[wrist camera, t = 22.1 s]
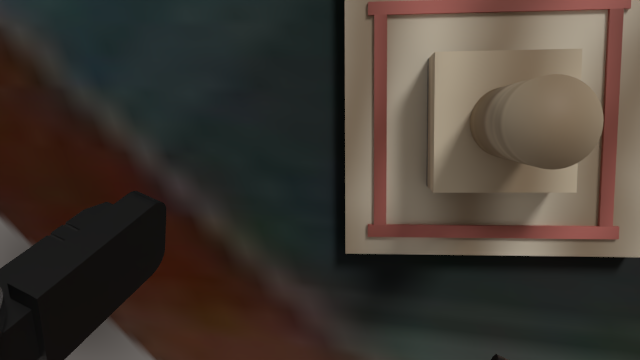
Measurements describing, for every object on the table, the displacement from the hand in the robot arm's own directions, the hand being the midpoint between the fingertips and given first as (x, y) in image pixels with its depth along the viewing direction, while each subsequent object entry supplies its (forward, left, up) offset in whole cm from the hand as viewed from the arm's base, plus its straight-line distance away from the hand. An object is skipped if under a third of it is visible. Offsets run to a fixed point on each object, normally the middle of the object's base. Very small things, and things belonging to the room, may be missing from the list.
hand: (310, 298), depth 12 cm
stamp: (+7, +4, -14) cm, 17 cm away
